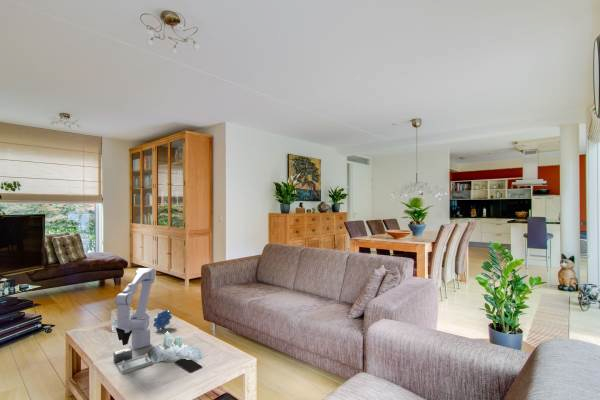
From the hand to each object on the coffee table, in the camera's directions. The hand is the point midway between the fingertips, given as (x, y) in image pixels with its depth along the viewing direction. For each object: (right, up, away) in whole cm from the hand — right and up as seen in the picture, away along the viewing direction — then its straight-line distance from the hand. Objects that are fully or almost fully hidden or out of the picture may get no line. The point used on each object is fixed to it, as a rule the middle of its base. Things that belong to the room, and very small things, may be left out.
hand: (123, 342), depth 164 cm
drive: (0, -10, 0) cm, 10 cm away
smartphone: (+36, -11, -4) cm, 38 cm away
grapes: (+2, -10, +41) cm, 42 cm away
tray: (+9, -10, -5) cm, 14 cm away
